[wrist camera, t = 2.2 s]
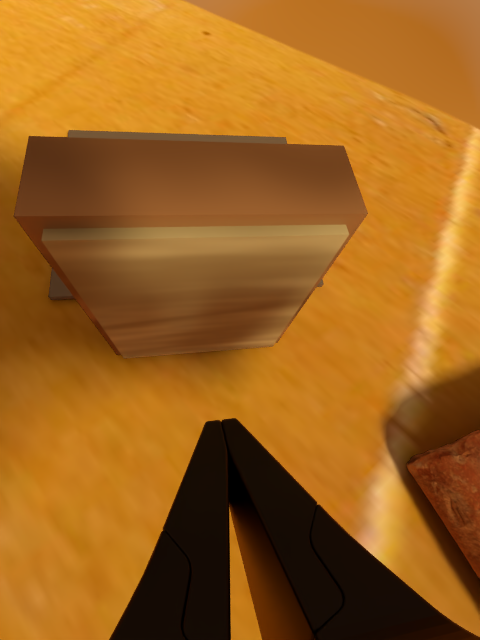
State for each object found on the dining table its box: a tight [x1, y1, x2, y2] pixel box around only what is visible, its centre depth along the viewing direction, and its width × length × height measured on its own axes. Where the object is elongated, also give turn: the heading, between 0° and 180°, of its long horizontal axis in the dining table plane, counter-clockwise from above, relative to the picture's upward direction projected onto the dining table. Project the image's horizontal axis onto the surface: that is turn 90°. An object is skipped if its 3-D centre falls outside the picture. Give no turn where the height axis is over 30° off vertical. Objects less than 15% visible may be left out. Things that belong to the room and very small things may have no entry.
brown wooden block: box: [14, 136, 368, 358], centre depth 15 cm, size 3×10×12 cm, turn 97°
